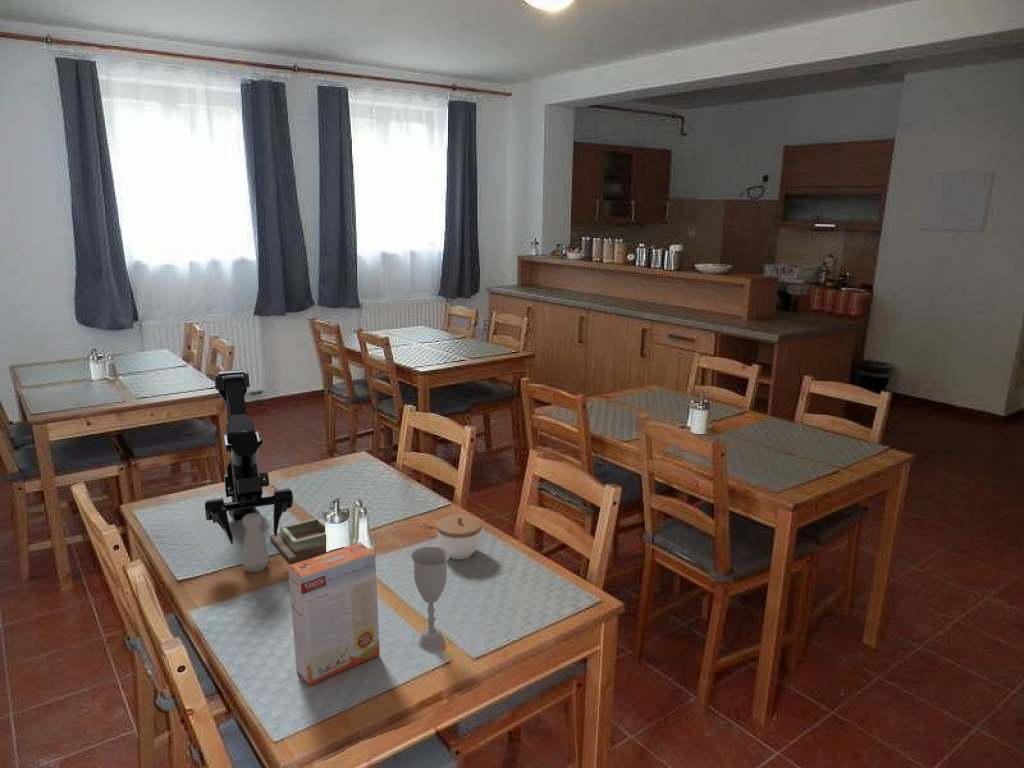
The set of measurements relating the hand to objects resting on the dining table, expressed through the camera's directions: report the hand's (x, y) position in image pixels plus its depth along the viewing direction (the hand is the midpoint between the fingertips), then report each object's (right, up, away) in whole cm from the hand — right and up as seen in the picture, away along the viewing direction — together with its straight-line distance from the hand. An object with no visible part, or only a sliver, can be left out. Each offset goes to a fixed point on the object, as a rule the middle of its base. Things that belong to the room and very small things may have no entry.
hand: (254, 539), depth 155 cm
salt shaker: (-1, -7, +3) cm, 8 cm away
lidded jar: (+45, -6, +11) cm, 47 cm away
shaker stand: (+8, -4, +15) cm, 17 cm away
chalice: (+42, -15, -23) cm, 50 cm away
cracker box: (+26, -16, -30) cm, 43 cm away
